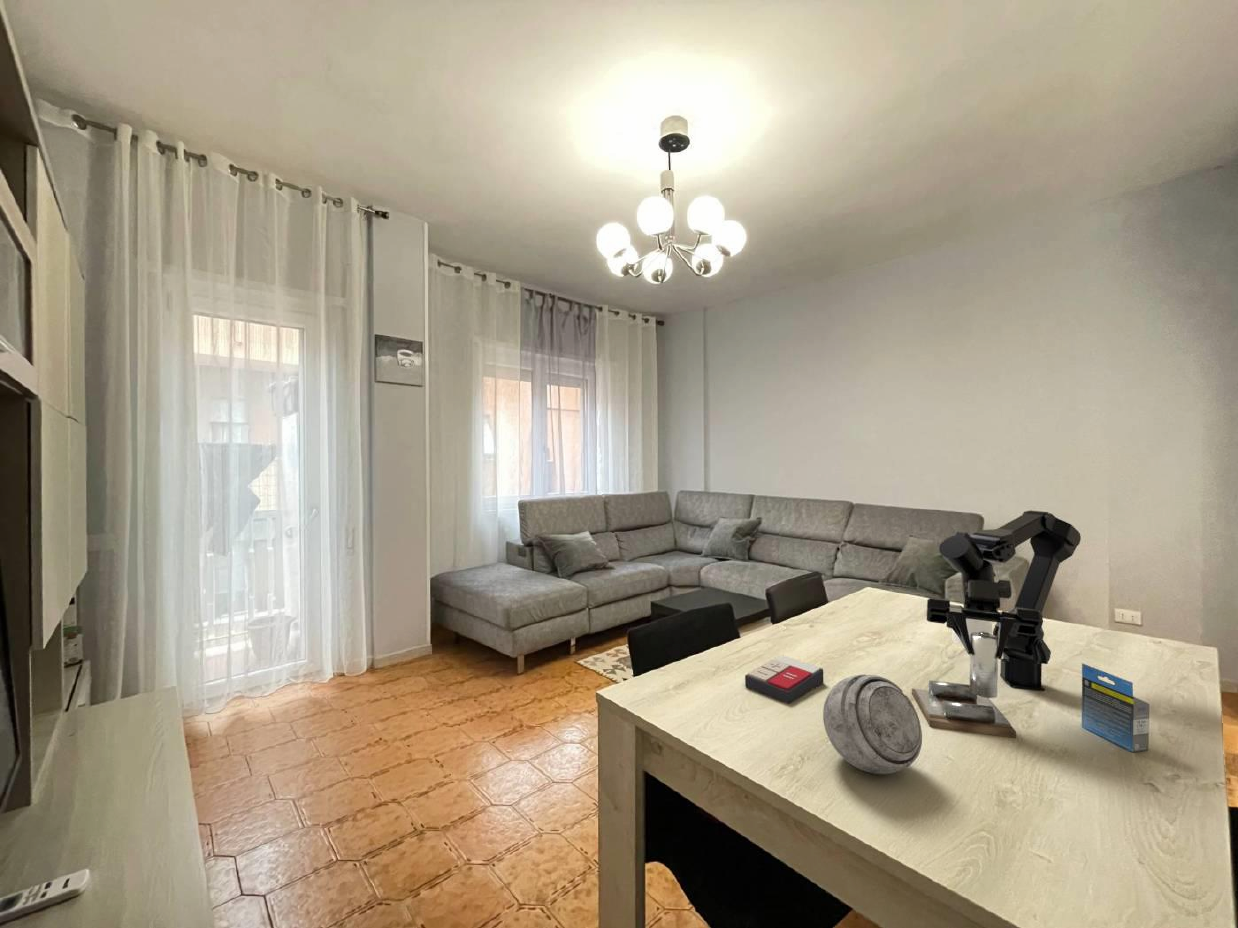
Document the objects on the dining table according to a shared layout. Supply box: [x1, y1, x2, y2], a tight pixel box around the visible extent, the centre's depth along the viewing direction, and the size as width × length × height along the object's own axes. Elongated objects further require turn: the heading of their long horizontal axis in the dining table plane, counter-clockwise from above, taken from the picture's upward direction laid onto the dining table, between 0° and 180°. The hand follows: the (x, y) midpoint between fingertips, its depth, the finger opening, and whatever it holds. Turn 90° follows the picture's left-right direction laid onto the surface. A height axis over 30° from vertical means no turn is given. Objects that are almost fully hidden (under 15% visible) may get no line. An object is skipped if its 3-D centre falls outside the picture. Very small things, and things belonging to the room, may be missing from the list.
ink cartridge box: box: [1081, 663, 1150, 753], centre depth 96 cm, size 9×4×12 cm, turn 9°
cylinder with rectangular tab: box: [951, 619, 993, 647], centre depth 144 cm, size 9×9×12 cm
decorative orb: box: [822, 674, 923, 775], centre depth 88 cm, size 15×14×15 cm
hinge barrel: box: [969, 632, 999, 699], centre depth 101 cm, size 4×4×12 cm
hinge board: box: [911, 688, 1017, 739], centre depth 105 cm, size 14×14×1 cm
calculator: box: [744, 654, 824, 705], centre depth 118 cm, size 11×4×15 cm
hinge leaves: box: [914, 680, 1012, 727], centre depth 105 cm, size 13×12×3 cm
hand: (984, 655), depth 100 cm, fingers closed on hinge barrel, 4 cm apart
